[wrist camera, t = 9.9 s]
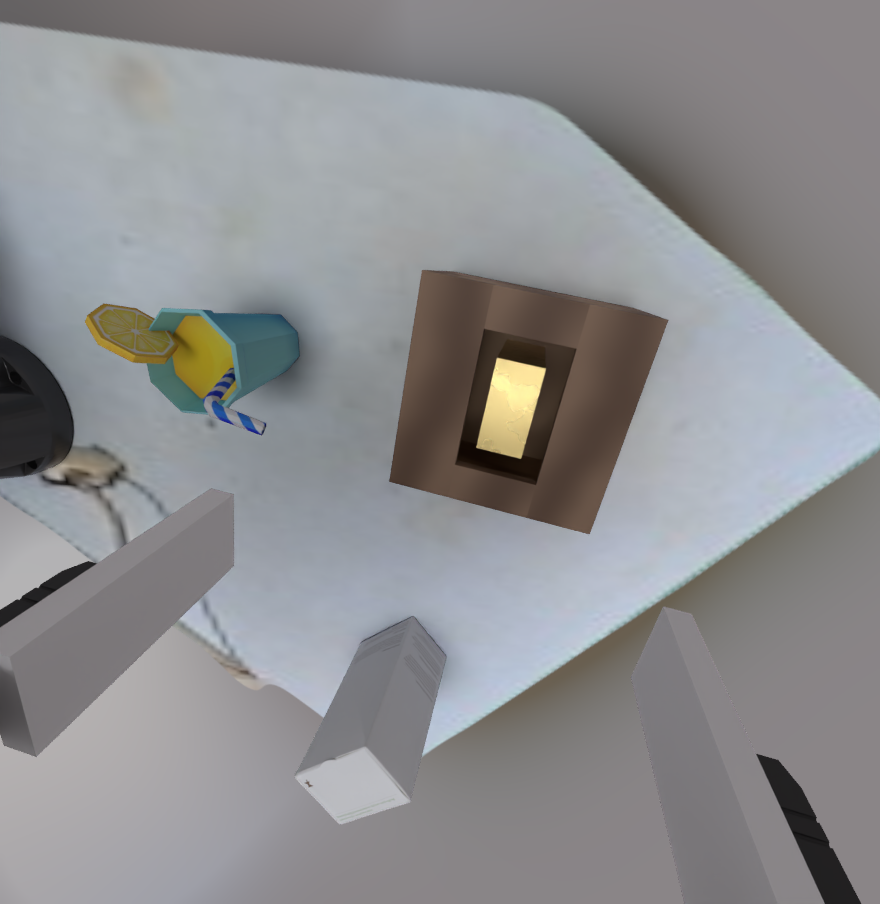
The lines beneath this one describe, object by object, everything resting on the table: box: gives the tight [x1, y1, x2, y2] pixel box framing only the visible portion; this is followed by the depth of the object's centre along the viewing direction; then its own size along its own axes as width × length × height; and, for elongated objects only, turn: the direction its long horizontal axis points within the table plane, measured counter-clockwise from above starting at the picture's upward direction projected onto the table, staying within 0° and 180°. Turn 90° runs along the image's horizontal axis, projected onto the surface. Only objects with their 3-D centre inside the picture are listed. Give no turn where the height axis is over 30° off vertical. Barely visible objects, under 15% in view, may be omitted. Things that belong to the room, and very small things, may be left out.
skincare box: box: [295, 617, 446, 824], centre depth 44 cm, size 8×7×16 cm
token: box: [476, 339, 546, 459], centre depth 33 cm, size 3×6×9 cm, turn 169°
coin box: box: [389, 270, 668, 534], centre depth 33 cm, size 14×14×10 cm
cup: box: [85, 304, 300, 435], centre depth 34 cm, size 14×8×15 cm, turn 66°
